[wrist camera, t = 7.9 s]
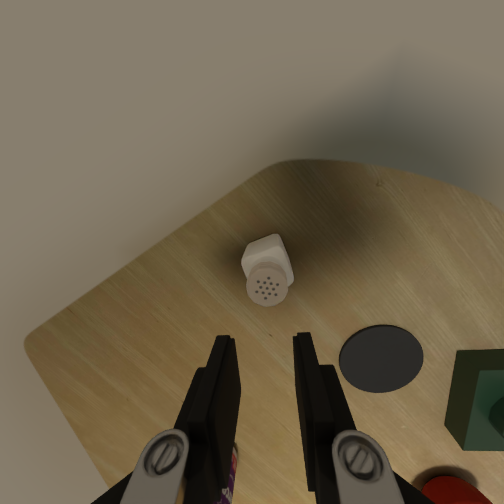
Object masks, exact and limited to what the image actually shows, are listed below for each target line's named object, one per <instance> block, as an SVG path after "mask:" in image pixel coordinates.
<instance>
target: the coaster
mask: <svg viewBox="0 0 504 504" xmlns="http://www.w3.org/2000/svg"><path fill="white" fill-rule="evenodd" d="M422 364H423V350H422V347H421V345H420V343H419V342H418V340H417V339H416V338H415V337H414V336H413V335H412V334H411V333H409V332H408V331H406V330H404V329H402V328H400V327H396V326H392V325H375V326H370V327H367V328H364V329H362V330H360V331H358V332H357V333H355V334H354V335H352V336H351V337H350V338H349V339H348V340H347V341H346V342H345V344H344V345H343V347H342V349H341V352H340V355H339V365H340V369H341V372H342V374H343V376H344V377H345V379H346V380H347V381H348V382H349V383H350V384H351V385H353V386H354V387H356V388H358V389H360V390H363V391H367V392H372V393H384V392H390V391H394V390H397V389H399V388H401V387H403V386H405V385H407V384H408V383H409V382H411V381H412V380H413V379H414V378H415V377H416V376H417V374H418V373H419V371H420V369H421V367H422Z"/></svg>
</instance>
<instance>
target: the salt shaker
mask: <svg viewBox="0 0 504 504" xmlns="http://www.w3.org/2000/svg"><path fill="white" fill-rule="evenodd" d="M241 265H242V268H243V271H244V273H245V276H246V278H247V283H246V287H247V293H248V296H249V297H250V298H251V299H252V300H253V302H254V303H256V304H259V305H261V306H264V307H266V306H275V305H277V304H278V303H280V302H281V301H283V300H284V298H285V296H286V294H287V292H288V286H290V285H291V284H292V283H293V282H294V275H293V272H292V268H291V264H290V260H289V257H288V255H287V252H286V250H285V247H284V244H283V242H282V239H281V237H280V236H279V235H278V234H271V235H269V236H266V237H264V238H261V239H259V240H256V241H253V242H251V243H249V244H248V245H247V247H246V249H245V252H244V255H243V257H242V260H241Z"/></svg>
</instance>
